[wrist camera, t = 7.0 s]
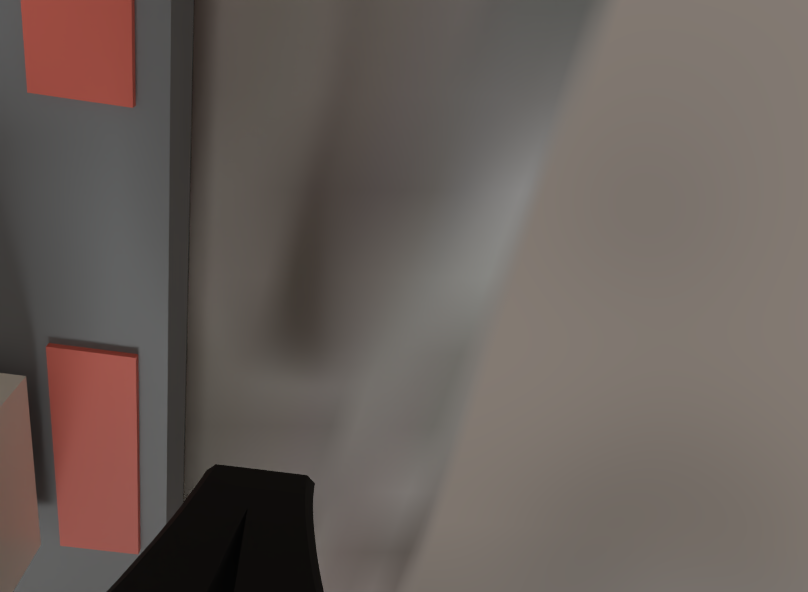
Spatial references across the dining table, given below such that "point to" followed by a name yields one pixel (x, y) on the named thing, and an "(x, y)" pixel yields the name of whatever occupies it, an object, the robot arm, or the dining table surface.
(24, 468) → the handle mid
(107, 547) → the breaker panel
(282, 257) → the dining table surface
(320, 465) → the dining table surface
